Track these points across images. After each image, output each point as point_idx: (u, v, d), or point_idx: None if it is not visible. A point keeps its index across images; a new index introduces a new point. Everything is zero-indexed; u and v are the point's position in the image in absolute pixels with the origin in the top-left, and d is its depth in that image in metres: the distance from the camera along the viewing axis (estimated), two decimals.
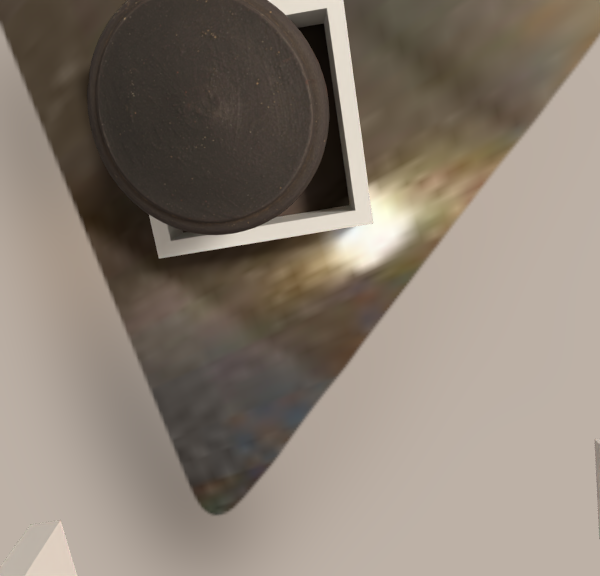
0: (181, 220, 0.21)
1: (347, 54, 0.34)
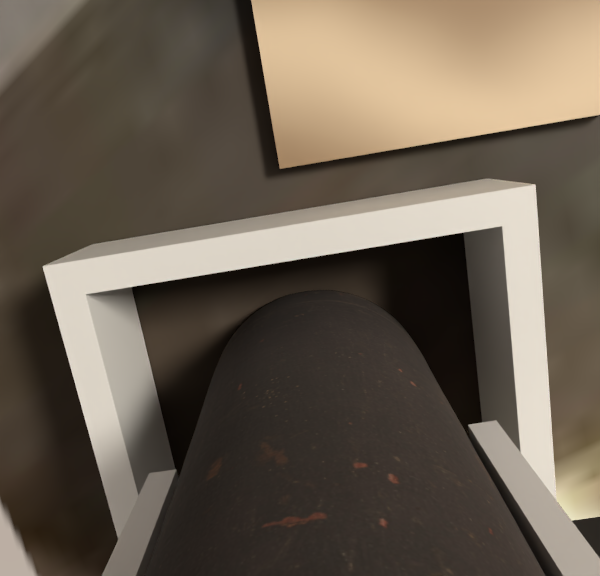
0: None
1: (537, 313, 0.16)
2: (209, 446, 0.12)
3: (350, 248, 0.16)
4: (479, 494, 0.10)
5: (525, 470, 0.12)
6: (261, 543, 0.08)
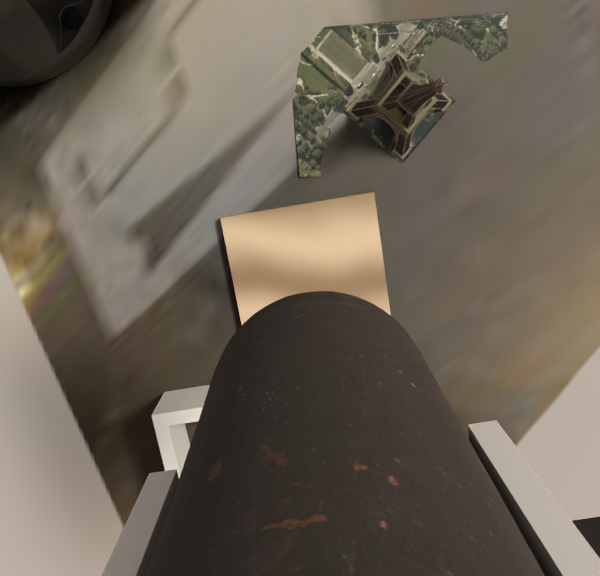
0: None
1: None
2: (209, 448, 0.12)
3: None
4: (478, 497, 0.10)
5: (525, 470, 0.12)
6: (261, 545, 0.08)
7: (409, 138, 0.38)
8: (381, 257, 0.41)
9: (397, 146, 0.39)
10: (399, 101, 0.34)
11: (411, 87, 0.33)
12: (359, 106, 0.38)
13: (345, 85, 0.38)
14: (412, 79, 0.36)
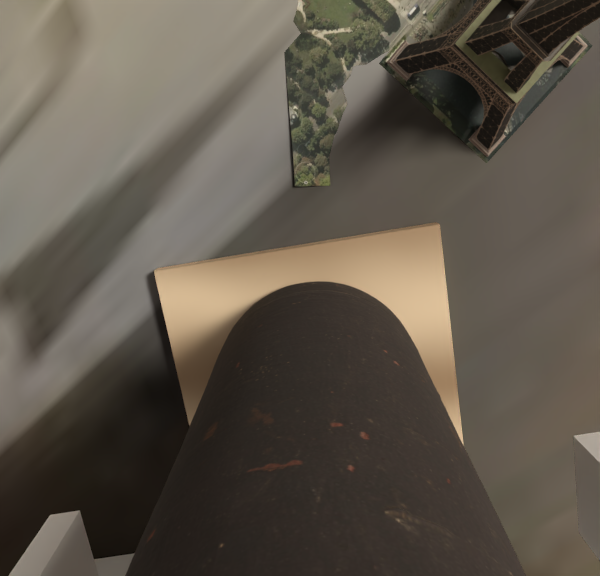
0: None
1: None
2: (207, 414, 0.13)
3: None
4: (443, 454, 0.11)
5: None
6: (245, 483, 0.09)
7: (509, 115, 0.19)
8: (450, 342, 0.22)
9: (482, 131, 0.20)
10: (515, 27, 0.15)
11: None
12: (413, 52, 0.19)
13: (385, 12, 0.20)
14: None
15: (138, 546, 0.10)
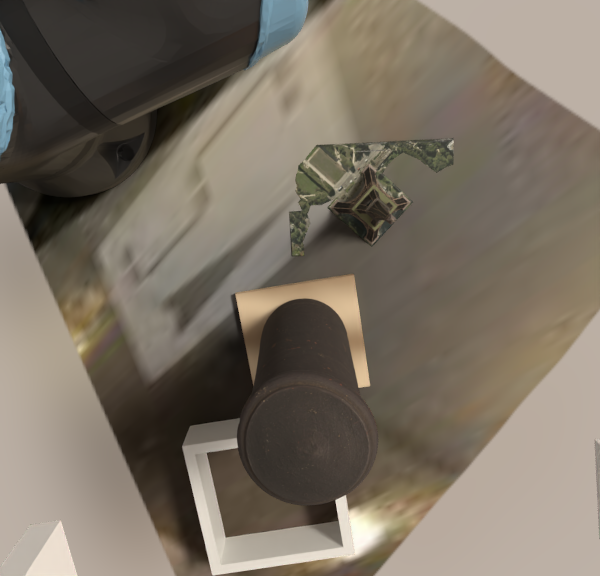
0: (289, 500, 0.35)
1: None
2: (270, 342, 0.43)
3: None
4: (336, 348, 0.41)
5: None
6: (287, 351, 0.39)
7: (376, 231, 0.50)
8: (360, 324, 0.52)
9: (368, 236, 0.50)
10: (367, 212, 0.45)
11: (375, 203, 0.45)
12: (339, 206, 0.50)
13: (329, 189, 0.50)
14: (378, 191, 0.47)
15: (259, 370, 0.40)
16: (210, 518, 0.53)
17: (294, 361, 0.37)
